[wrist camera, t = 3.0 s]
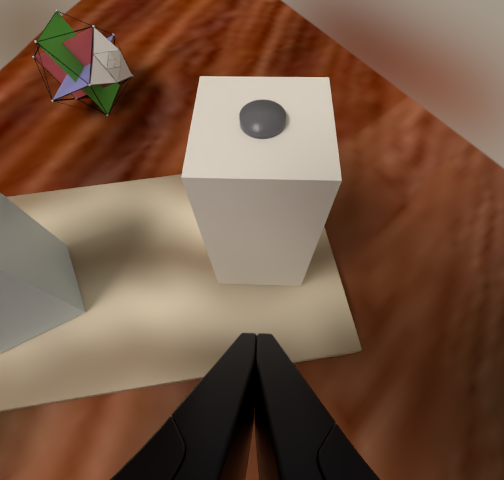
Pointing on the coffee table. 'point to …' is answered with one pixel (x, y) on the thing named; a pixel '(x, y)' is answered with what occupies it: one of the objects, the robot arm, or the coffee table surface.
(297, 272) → the white button box
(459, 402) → the coffee table surface
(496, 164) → the coffee table surface
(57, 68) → the geometric puzzle
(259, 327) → the beige mat
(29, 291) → the tile two
